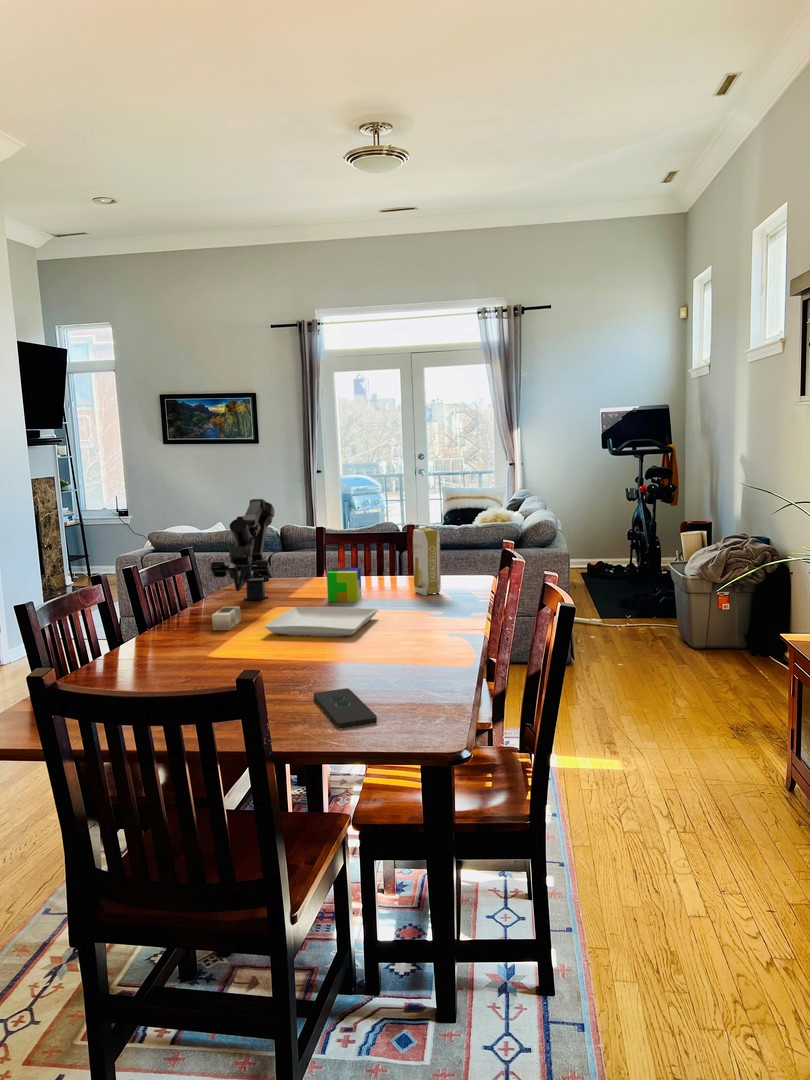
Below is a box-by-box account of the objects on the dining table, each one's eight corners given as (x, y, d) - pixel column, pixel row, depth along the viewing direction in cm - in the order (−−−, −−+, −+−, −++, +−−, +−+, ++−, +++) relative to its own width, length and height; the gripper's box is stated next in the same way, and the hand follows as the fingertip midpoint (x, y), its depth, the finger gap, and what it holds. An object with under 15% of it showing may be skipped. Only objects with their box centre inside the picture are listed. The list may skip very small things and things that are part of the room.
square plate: (356, 641, 217) (355, 627, 216) (262, 638, 222) (262, 625, 222) (379, 619, 243) (378, 606, 242) (294, 617, 248) (294, 605, 248)
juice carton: (411, 592, 282) (410, 525, 278) (431, 589, 285) (430, 524, 282) (423, 596, 273) (421, 528, 270) (443, 594, 276) (442, 526, 273)
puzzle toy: (361, 595, 278) (360, 567, 277) (356, 601, 268) (355, 572, 267) (333, 596, 279) (332, 568, 278) (328, 601, 269) (326, 573, 268)
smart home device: (349, 687, 172) (378, 716, 153) (349, 694, 172) (379, 724, 153) (311, 692, 169) (337, 722, 150) (312, 700, 169) (337, 731, 150)
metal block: (224, 606, 243) (211, 614, 231) (240, 605, 242) (228, 614, 230) (225, 622, 243) (212, 631, 231) (241, 621, 243) (229, 631, 231)
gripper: (209, 536, 253) (202, 577, 244) (267, 535, 253) (261, 576, 244) (217, 556, 262) (210, 596, 253) (273, 555, 262) (268, 595, 252)
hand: (237, 590), depth 250 cm, fingers closed
